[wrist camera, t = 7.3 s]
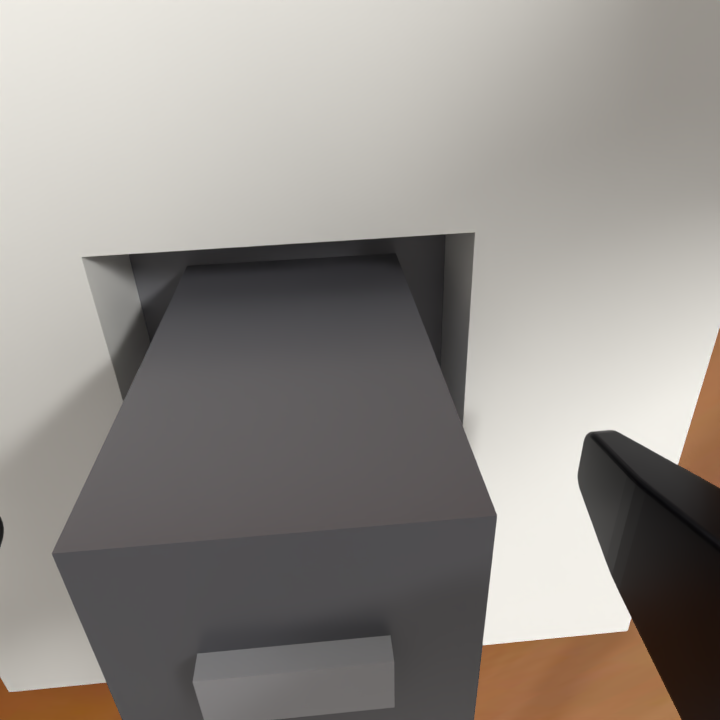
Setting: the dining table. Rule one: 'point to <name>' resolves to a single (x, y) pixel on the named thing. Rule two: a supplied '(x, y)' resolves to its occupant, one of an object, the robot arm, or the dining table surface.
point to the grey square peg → (286, 508)
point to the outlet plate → (362, 241)
